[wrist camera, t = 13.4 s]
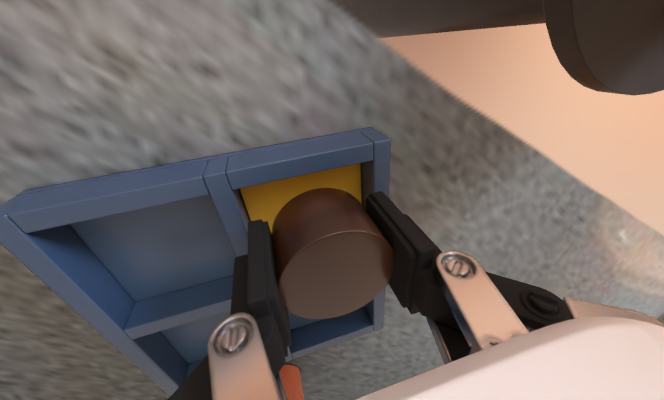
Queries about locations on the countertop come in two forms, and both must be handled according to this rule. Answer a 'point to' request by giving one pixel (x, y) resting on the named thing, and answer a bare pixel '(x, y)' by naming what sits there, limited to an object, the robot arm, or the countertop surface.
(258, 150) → the grid
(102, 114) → the countertop surface
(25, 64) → the countertop surface
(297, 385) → the cylinder
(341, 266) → the cylinder
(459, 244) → the countertop surface
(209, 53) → the countertop surface
